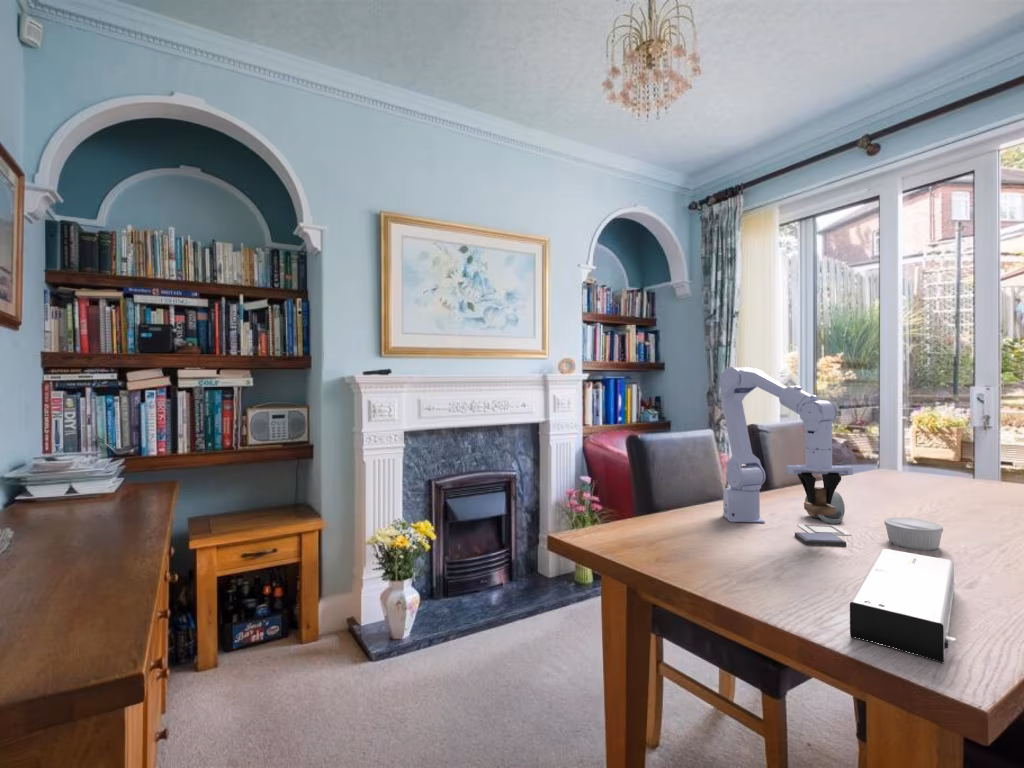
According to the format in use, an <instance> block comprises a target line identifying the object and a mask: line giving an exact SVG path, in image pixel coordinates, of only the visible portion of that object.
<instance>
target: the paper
mask: <svg viewBox="0 0 1024 768" xmlns="http://www.w3.org/2000/svg"><path fill="white" fill-rule="evenodd" d="M797 526H798V527H799V528H800V529H802V530H804V532H805V533H832V534H834V535H836V536H852V534H851V533H850V532H848V531H846V530H845V529H843V528H841V527H840V526H837V525H825V524H822V525H819V524H797Z"/></svg>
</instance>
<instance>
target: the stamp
mask: <svg viewBox="0 0 1024 768" xmlns="http://www.w3.org/2000/svg"><path fill="white" fill-rule="evenodd" d="M814 497H815V501H814V504H811V503H809V502H805V501H804V502H803V509H804V510H805V511H806V512H807V511H808V512H810V513H812V514H816V515H834V514H835V507H834V506H831V505H829V504H827V489H826V488H824V487H822V486H821V487H820V486H815V488H814Z"/></svg>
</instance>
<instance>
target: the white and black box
mask: <svg viewBox="0 0 1024 768" xmlns="http://www.w3.org/2000/svg"><path fill="white" fill-rule="evenodd" d="M954 595H955V562H954V561H953V560H952V559H947V558H941V557H935V556H930V555H925V554H920V553H919V554H918V553H912V552H908V551H902V550H900V551H899V550H895V549H890V548H881V550H880V552H879V553H878V555H877V557H876V559H875V560H874V562H873V564H872V565H871V567H870V569H869V570H868V572H867V573H866V575H865V577H864V578H863V581H862V582H861V584H860V585H859V588H858V589H857V590H856V593H854V596H853V597H852V600H851V601H850V602H849V636H850V638H851V637H856V638H860V639H864V640H868V641H873V642H876V643H879V644H883V645H886V646H890V647H894V648H897V649H900V650H903V651H907V652H910V653H914V654H918V655H921V656H924V657H923V658H925V657H928V658H931V659H930V660H932V659H935V660H938V661H937V662H939V661H941V662H940V663H942V662H944V663H945V660H944V659H946V653H947V649H948V648H949V642H951V643H956V638H955V637H953V636H949V631H950V624H951V623H950V621H951V617H950V616H952V609H953V608H952V607H953V602H954V601H953V600H954ZM949 623H950V624H949ZM856 638H855V639H856ZM860 639H859V640H860ZM864 640H863V641H864ZM900 650H899V651H900ZM903 651H902V652H903ZM907 652H906V653H907ZM945 652H946V653H945ZM910 653H909V654H910ZM914 654H913V655H914ZM918 655H917V656H918ZM921 656H920V657H921ZM928 658H927V659H928ZM935 660H934V661H935Z"/></svg>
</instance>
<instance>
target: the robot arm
mask: <svg viewBox="0 0 1024 768" xmlns="http://www.w3.org/2000/svg"><path fill="white" fill-rule="evenodd" d="M719 382H720V386H721V395H720V398H721V404H722V410H723V415H724V420H725V424H726V431H727V435H728V436H727V437H728V442H729V446H730V452H731V456H730V458H729V459H728V460H727V461H726V464H725V466H726V472H725V479H726V482H727V484H728V485H729V487H728V488H727V487H726V488H724V490H723V494H722V495H723V496H722V497H723V499H722V501H723V504H722V505H723V510H722V511H723V513H722V515H723V516H724V518H726V519H727V520H728V521H729V522H730V523H731V522H732V523H733V522H734V523H766V521H765V520H764V519H763V518H762V517H760V516H761V515H760V514H761V511H760V510H761V509H760V508H761V507H760V505H761V504H760V503H761V502H760V501H761V500H760V499H761V498H760V489H762V486H763V484H764V483H765V481H766V471H765V469H764V468H763V467H762V463H761V460H760V459H759V457H757V456H756V455H755V454H754V453H753V450H752V445H751V440H750V435H749V431H748V425H747V421H746V420H747V419H746V415H745V409H744V406H743V401H744V399H745V398H746V396H747V395H749V394H750V393H751V392H753V391H754V390H755V389H756V388H759V389H761V390H763V391H764V392H766V393H768V394H771V395H773V396H775V397H777V398H778V401H779V403H780V404H781V405H782V406H784V407H786V408H787V409H789V410H790V411H792V412H794V413H796V414H797V415H799V417H800V419H801V421H802V422H803V428H804V431H805V432H804V433H805V436H804V438H805V439H804V440H805V441H804V442H805V451H804V452H805V464H791V465H790V464H788V465H785V466H786V469H785V470H786V474H788V475H795V474H796V475H797V477H798V479H799V481H800V482H801V484H802V487H803V489H804V491H805V494H806V496H807V500H808V502H809V503H811V504H814V501H815V497H814V488H815V487H816V479H817V478H816V477H815V476H814V475H821V477H822V482H823V488H826V489H827V504H831V501H832V497H833V494H834V491H836V489H837V487H838V486H839V484H840V482H841V481H842V476H841V475H848V476H853V466H850V465H837V464H836V465H835V464H834V465H833V421H834V420H835V419H836V418H837V416H838V409H837V407H836V405H835V404H834V402H831V400H830V399H821V400H820V398H818V396H817V395H815V394H810V393H808V392H807V391H804V390H803V387H802V386H800V385H789V386H785V385H784V384H783V383H781V382H779V381H777V380H776V379H774V378H773V377H771V376H769V375H768V374H766V373H765V372H764V370H761V369H758V368H756V366H755V367H754V366H750V367H733V366H728V367H726V368H725V369H724V370H723V372H722V373H721V375H720V376H719Z"/></svg>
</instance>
